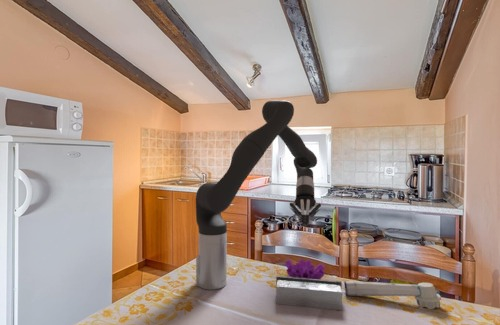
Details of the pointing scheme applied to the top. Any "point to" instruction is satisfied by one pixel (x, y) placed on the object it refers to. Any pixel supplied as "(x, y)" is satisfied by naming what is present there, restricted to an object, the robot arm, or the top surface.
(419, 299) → the white handheld device
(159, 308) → the top surface
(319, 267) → the purple tube coral
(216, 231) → the robot arm
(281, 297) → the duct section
